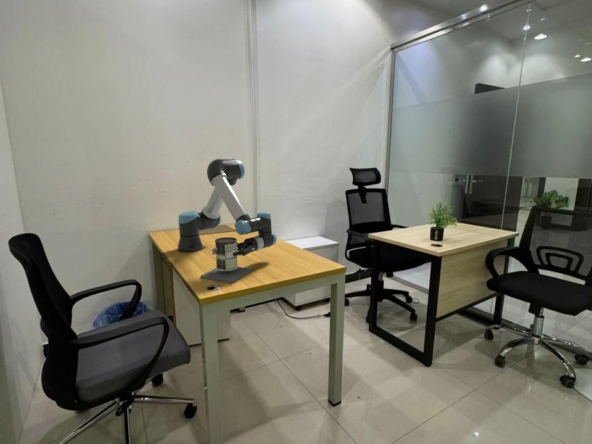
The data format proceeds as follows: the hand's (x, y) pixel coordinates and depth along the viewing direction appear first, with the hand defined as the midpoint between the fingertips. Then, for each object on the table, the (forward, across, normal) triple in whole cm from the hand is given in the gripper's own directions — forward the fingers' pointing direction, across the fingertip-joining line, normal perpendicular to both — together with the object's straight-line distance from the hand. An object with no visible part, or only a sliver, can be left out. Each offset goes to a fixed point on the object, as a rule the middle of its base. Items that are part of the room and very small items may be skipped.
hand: (219, 253), depth 148 cm
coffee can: (-4, 0, -8) cm, 9 cm away
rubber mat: (-4, 0, -12) cm, 12 cm away
